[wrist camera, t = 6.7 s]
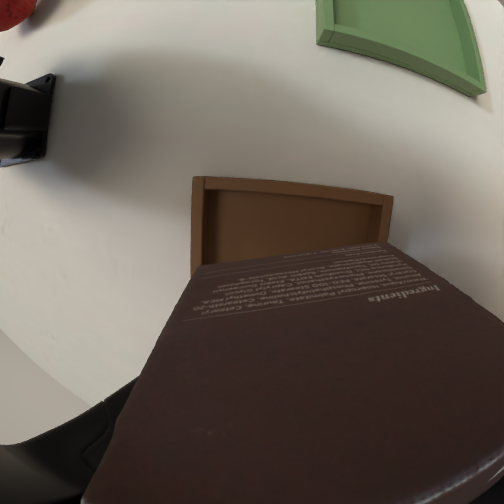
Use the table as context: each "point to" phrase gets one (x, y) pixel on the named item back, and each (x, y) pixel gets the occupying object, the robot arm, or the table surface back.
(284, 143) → the table surface
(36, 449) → the robot arm
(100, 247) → the table surface
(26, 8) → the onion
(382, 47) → the produce tray
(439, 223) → the table surface
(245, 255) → the walnut tray
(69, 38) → the table surface
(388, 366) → the box
